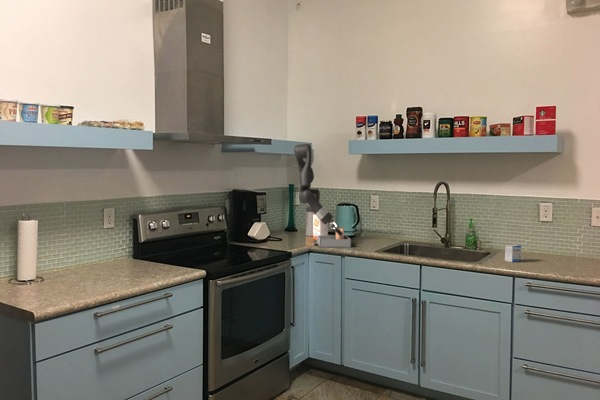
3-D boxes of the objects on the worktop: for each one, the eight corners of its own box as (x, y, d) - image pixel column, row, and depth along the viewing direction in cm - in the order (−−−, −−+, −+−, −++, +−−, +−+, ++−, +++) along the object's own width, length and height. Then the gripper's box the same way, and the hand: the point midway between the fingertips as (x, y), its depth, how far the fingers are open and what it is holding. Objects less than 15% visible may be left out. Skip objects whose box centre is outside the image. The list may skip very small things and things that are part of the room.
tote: (316, 243, 327) (317, 235, 326) (346, 242, 328) (346, 235, 328) (320, 247, 309) (320, 239, 309) (350, 247, 311) (351, 239, 311)
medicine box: (511, 262, 268) (512, 246, 267) (504, 261, 272) (505, 245, 271) (521, 260, 272) (521, 245, 272) (513, 259, 276) (514, 243, 275)
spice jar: (335, 243, 321) (335, 228, 320) (342, 243, 322) (343, 227, 321) (336, 244, 316) (336, 229, 315) (344, 244, 317) (344, 229, 316)
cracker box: (312, 239, 344) (312, 208, 342) (320, 238, 346) (320, 208, 344) (319, 242, 330) (319, 210, 329) (328, 241, 332) (328, 210, 331)
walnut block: (305, 244, 321) (305, 236, 320) (313, 244, 321) (313, 236, 321) (306, 246, 316) (306, 238, 316) (314, 246, 316) (314, 238, 316)
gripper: (327, 212, 311) (346, 231, 311) (328, 210, 325) (346, 228, 325) (319, 220, 312) (337, 239, 312) (320, 218, 326) (337, 236, 326)
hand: (341, 233), depth 318 cm, fingers open, 8 cm apart
